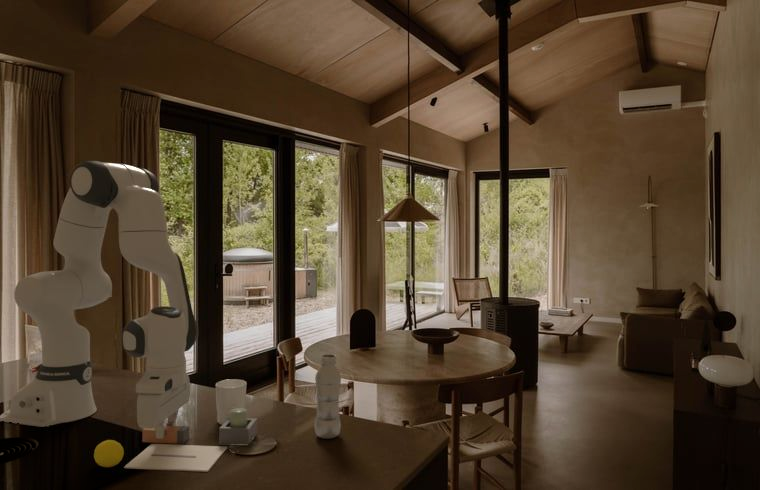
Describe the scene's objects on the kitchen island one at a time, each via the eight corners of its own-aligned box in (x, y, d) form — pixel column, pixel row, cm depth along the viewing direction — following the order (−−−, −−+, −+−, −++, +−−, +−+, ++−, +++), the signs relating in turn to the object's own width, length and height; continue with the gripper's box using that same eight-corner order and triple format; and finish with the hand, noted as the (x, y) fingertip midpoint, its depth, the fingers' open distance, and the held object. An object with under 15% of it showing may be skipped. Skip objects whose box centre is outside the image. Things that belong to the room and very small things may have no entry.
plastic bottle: (320, 443, 126) (321, 360, 125) (310, 433, 132) (311, 354, 131) (344, 439, 129) (346, 358, 128) (334, 429, 135) (335, 352, 134)
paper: (124, 468, 111) (124, 466, 111) (151, 444, 123) (151, 443, 123) (207, 471, 110) (207, 470, 110) (227, 448, 122) (227, 446, 122)
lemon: (129, 465, 114) (132, 441, 113) (107, 476, 109) (110, 451, 108) (106, 455, 117) (109, 431, 116) (84, 465, 112) (86, 440, 111)
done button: (227, 434, 125) (227, 413, 125) (233, 428, 129) (233, 407, 129) (244, 435, 125) (244, 414, 125) (249, 428, 129) (249, 408, 129)
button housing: (219, 445, 124) (219, 428, 124) (229, 433, 131) (229, 417, 131) (248, 446, 124) (248, 429, 123) (256, 434, 131) (257, 418, 130)
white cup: (237, 427, 135) (238, 388, 135) (209, 424, 137) (209, 386, 136) (251, 417, 143) (251, 380, 142) (224, 414, 144) (224, 378, 144)
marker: (142, 442, 125) (142, 429, 125) (148, 437, 128) (148, 424, 128) (183, 443, 124) (183, 430, 124) (189, 438, 127) (189, 426, 127)
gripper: (172, 364, 136) (172, 417, 137) (131, 388, 116) (131, 450, 116) (196, 365, 136) (196, 418, 136) (159, 389, 116) (159, 451, 116)
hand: (166, 433), depth 126 cm, fingers open, 4 cm apart
